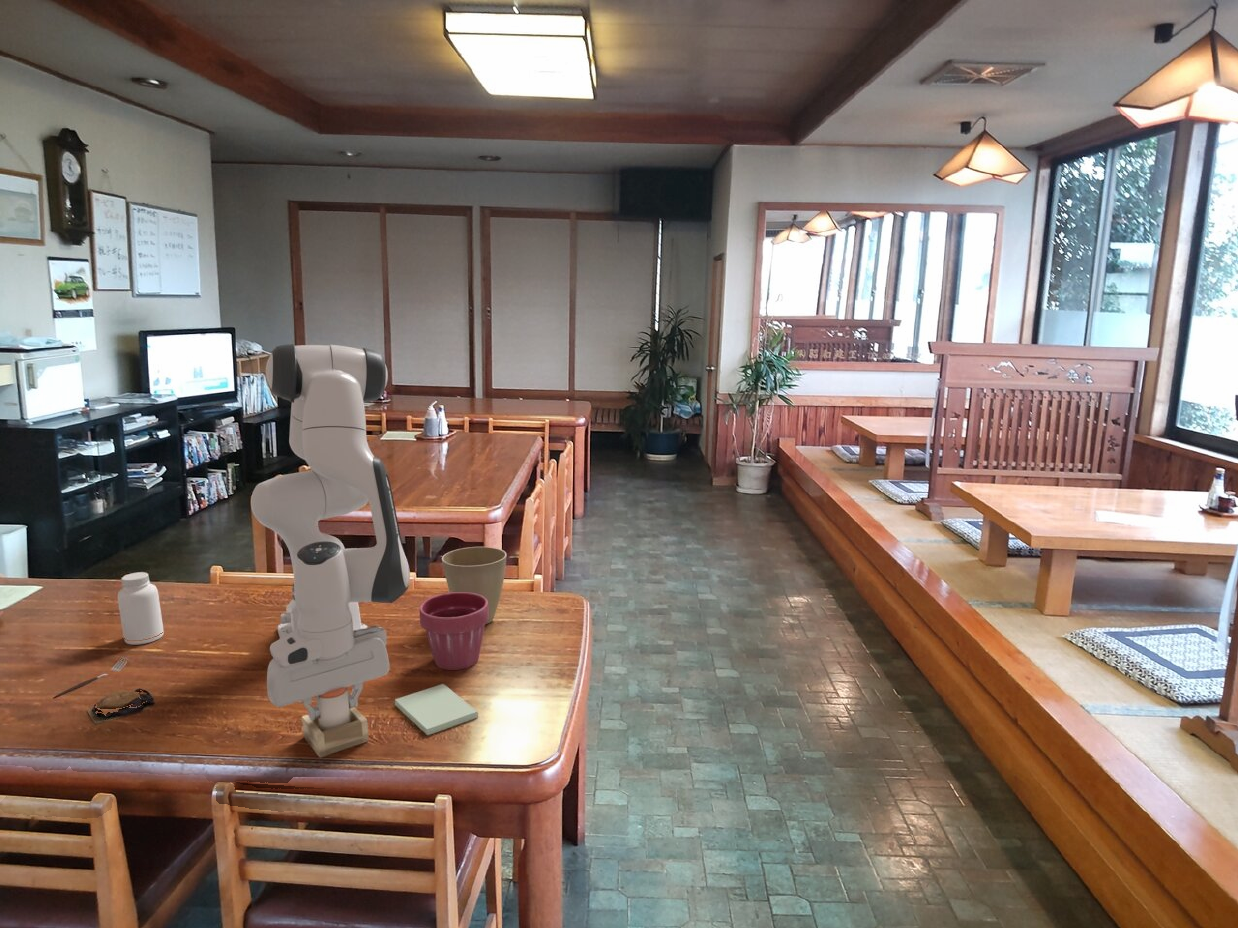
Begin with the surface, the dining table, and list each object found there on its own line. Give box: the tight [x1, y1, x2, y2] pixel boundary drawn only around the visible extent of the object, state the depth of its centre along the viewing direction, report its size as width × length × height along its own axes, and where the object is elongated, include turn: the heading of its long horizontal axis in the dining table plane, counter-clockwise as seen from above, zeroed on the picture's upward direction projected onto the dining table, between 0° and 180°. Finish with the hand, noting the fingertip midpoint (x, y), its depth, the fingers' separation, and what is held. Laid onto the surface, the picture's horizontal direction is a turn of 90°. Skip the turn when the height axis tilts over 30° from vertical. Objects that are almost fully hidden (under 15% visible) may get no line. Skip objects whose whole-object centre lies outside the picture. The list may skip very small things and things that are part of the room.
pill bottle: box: [116, 571, 164, 646], centre depth 189 cm, size 8×8×15 cm
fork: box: [52, 656, 130, 699], centre depth 170 cm, size 3×16×2 cm, turn 159°
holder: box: [301, 707, 370, 759], centre depth 146 cm, size 8×8×4 cm
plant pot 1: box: [441, 546, 508, 625], centre depth 197 cm, size 15×15×16 cm
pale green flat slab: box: [394, 683, 479, 736], centre depth 156 cm, size 14×10×1 cm
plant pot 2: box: [419, 592, 489, 671], centre depth 175 cm, size 14×14×13 cm
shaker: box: [315, 687, 351, 732], centre depth 145 cm, size 5×5×9 cm
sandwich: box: [86, 688, 156, 725], centre depth 159 cm, size 11×8×4 cm
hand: (333, 712), depth 146 cm, fingers closed on shaker, 5 cm apart
